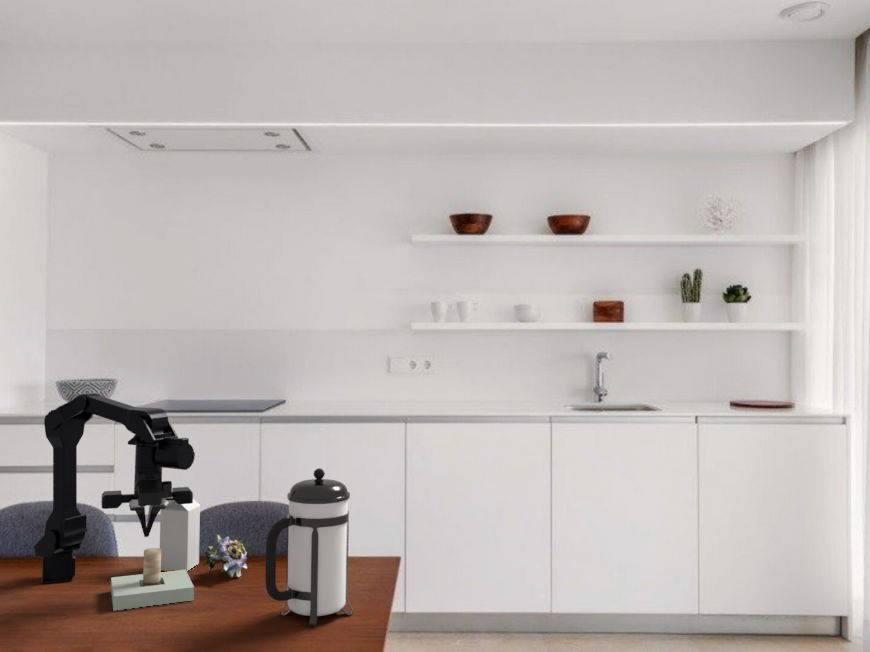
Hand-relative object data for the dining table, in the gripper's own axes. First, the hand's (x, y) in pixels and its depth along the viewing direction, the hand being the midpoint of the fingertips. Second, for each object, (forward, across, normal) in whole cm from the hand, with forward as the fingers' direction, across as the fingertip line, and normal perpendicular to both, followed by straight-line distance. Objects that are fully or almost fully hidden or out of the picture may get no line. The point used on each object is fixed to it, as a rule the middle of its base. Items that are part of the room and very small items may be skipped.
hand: (146, 536), depth 170 cm
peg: (+13, +1, -2) cm, 13 cm away
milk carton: (+13, +9, +17) cm, 23 cm away
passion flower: (+13, +18, +7) cm, 23 cm away
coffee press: (+12, +30, -28) cm, 43 cm away
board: (+13, +1, -2) cm, 13 cm away
